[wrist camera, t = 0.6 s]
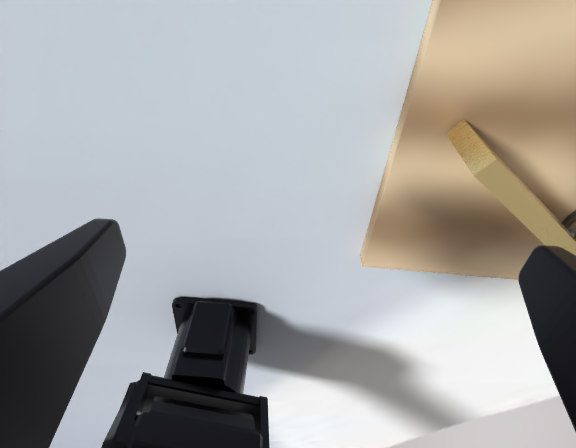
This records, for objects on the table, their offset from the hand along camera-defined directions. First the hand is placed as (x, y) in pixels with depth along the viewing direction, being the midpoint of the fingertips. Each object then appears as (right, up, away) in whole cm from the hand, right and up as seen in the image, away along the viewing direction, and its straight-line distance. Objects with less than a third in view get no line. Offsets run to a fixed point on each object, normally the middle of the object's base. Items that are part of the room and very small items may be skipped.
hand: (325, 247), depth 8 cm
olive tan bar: (+13, +3, +11) cm, 17 cm away
